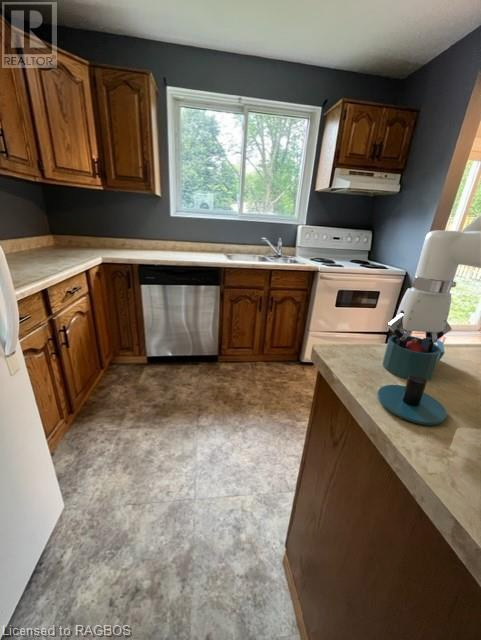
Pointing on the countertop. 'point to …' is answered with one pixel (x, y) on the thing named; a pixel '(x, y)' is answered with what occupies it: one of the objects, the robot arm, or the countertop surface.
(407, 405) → the lid
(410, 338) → the pot
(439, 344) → the yogurt
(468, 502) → the countertop surface
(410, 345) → the onion
